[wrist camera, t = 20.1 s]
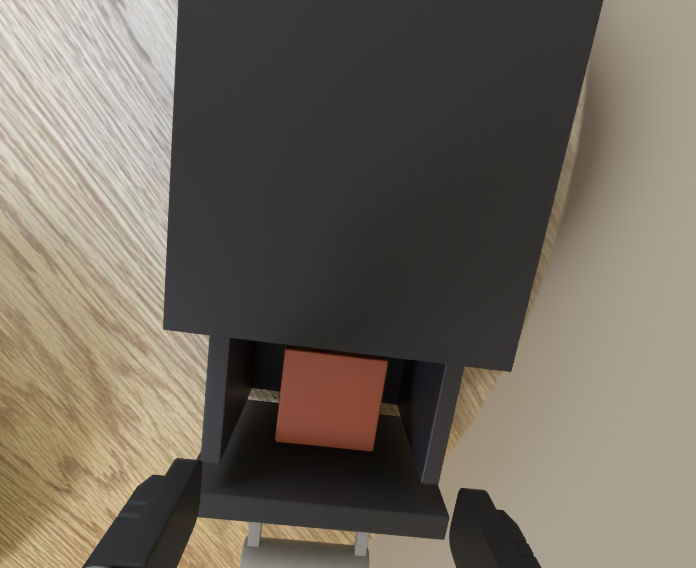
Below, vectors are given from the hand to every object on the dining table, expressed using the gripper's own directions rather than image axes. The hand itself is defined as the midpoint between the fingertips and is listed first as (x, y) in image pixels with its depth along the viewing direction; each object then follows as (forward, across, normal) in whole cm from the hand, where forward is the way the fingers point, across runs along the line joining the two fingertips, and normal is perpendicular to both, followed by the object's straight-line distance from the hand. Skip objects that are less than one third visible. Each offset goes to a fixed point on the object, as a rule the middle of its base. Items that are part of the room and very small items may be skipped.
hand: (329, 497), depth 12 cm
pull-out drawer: (+11, 0, +1) cm, 12 cm away
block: (+10, 0, 0) cm, 10 cm away
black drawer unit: (+12, 0, -11) cm, 17 cm away
